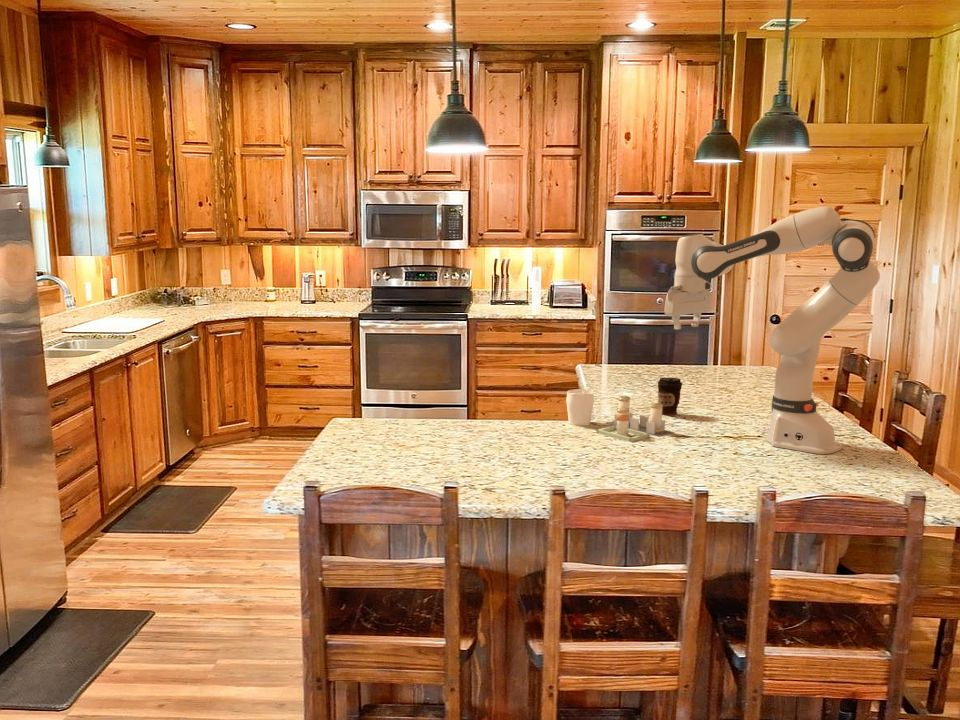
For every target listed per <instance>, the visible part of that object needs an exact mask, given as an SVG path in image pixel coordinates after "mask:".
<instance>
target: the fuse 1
mask: <svg viewBox="0 0 960 720" xmlns="http://www.w3.org/2000/svg"><path fill="white" fill-rule="evenodd" d="M630 401H631V397H630V396H628V395H627V396H626V395H625V396H624V395H621V396H618V408H628V409H629V410H630V408H631V407H630V403H631V402H630Z"/></svg>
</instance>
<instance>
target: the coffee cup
mask: <svg viewBox="0 0 960 720" xmlns="http://www.w3.org/2000/svg"><path fill="white" fill-rule="evenodd" d="M681 381H682V380H681V379H680V378H678V377H659V380H658V383H657V388H658V391H657V398H658V399H657V400H658V401H657V403H660V404H663V408H662V416H666V417H676V416H678V406H679V404H680V399H681V390H682V386H683V383H682V382H681Z"/></svg>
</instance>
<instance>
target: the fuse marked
mask: <svg viewBox="0 0 960 720" xmlns="http://www.w3.org/2000/svg"><path fill="white" fill-rule="evenodd" d="M629 412H630V409H628V408H617V409H616V414H617V430H616V434H619V435H623V436H627V437H629V434H630V433H628V428H629Z"/></svg>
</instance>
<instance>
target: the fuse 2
mask: <svg viewBox="0 0 960 720" xmlns="http://www.w3.org/2000/svg"><path fill="white" fill-rule="evenodd" d="M662 408H663V404H660V403H658V402H653V403H652V402H651V403H650V416H649V417H650V419H649V422H653V423H656V426H655V433H661V430H662V429H661V427H662V420H663V415H662Z"/></svg>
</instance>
